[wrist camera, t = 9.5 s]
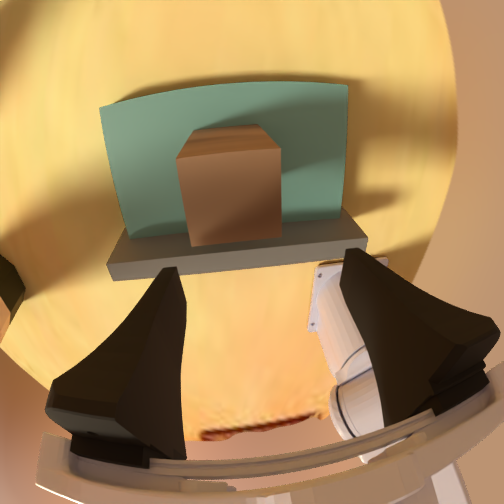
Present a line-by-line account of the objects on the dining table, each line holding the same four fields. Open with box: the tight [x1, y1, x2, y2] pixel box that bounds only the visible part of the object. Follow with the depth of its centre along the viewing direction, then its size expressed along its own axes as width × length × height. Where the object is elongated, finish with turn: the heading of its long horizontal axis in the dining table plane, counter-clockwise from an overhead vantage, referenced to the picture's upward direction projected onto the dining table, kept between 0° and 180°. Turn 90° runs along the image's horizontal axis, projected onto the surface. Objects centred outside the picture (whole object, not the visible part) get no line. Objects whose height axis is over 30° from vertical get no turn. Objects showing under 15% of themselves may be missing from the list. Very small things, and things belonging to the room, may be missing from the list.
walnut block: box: [176, 124, 282, 247], centre depth 14 cm, size 4×4×7 cm
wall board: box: [99, 81, 368, 281], centre depth 17 cm, size 12×18×5 cm, turn 93°
